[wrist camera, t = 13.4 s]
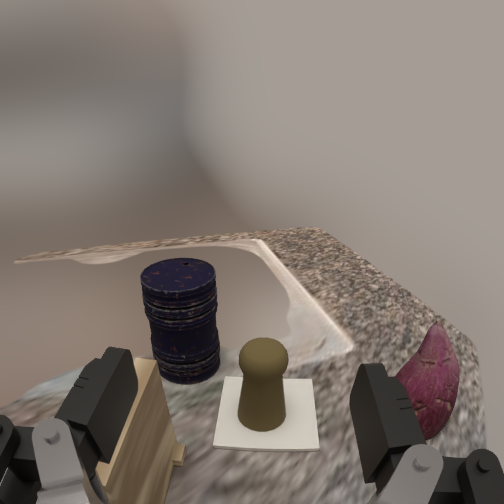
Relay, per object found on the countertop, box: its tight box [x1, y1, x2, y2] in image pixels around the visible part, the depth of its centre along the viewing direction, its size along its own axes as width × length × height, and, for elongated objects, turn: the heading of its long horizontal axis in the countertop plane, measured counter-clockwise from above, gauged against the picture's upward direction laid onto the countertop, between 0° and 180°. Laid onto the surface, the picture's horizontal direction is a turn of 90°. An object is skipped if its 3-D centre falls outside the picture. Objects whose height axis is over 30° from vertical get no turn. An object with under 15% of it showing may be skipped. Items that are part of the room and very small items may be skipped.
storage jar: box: [140, 258, 220, 385], centre depth 43 cm, size 10×10×15 cm
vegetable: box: [395, 319, 459, 440], centre depth 34 cm, size 10×10×15 cm
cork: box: [237, 338, 289, 432], centre depth 34 cm, size 6×6×11 cm
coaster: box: [213, 376, 319, 452], centre depth 37 cm, size 12×12×1 cm
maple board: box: [96, 358, 186, 504], centre depth 23 cm, size 4×13×14 cm, turn 177°
